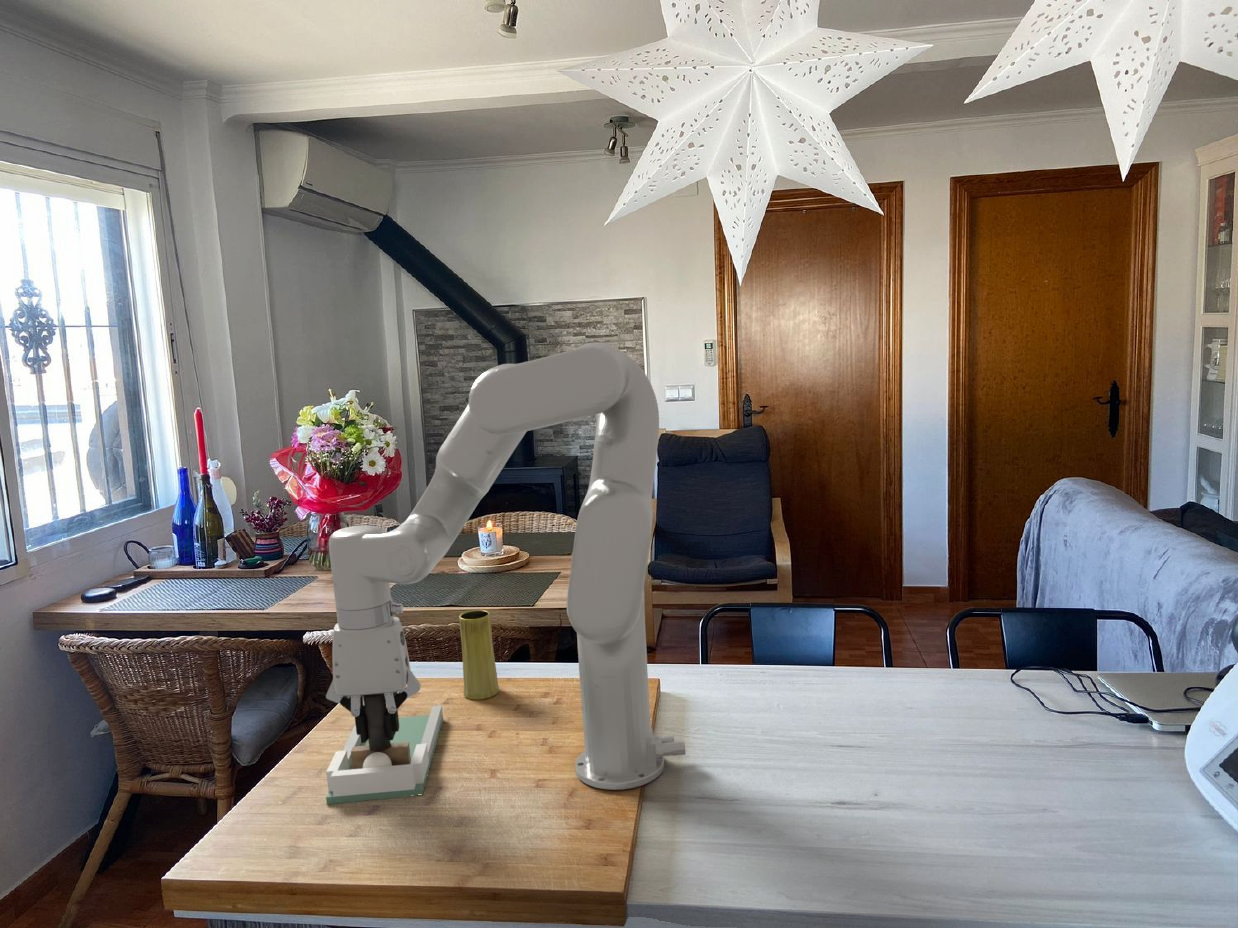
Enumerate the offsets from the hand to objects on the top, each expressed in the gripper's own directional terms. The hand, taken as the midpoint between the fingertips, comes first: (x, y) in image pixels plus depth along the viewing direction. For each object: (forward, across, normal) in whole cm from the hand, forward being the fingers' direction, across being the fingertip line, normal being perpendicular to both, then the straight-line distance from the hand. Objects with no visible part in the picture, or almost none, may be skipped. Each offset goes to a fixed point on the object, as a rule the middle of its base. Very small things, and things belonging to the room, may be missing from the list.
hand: (378, 736), depth 133 cm
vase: (+6, -12, -27) cm, 30 cm away
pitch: (+6, 0, -6) cm, 8 cm away
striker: (+5, 0, 0) cm, 5 cm away
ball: (+3, 0, +3) cm, 4 cm away
